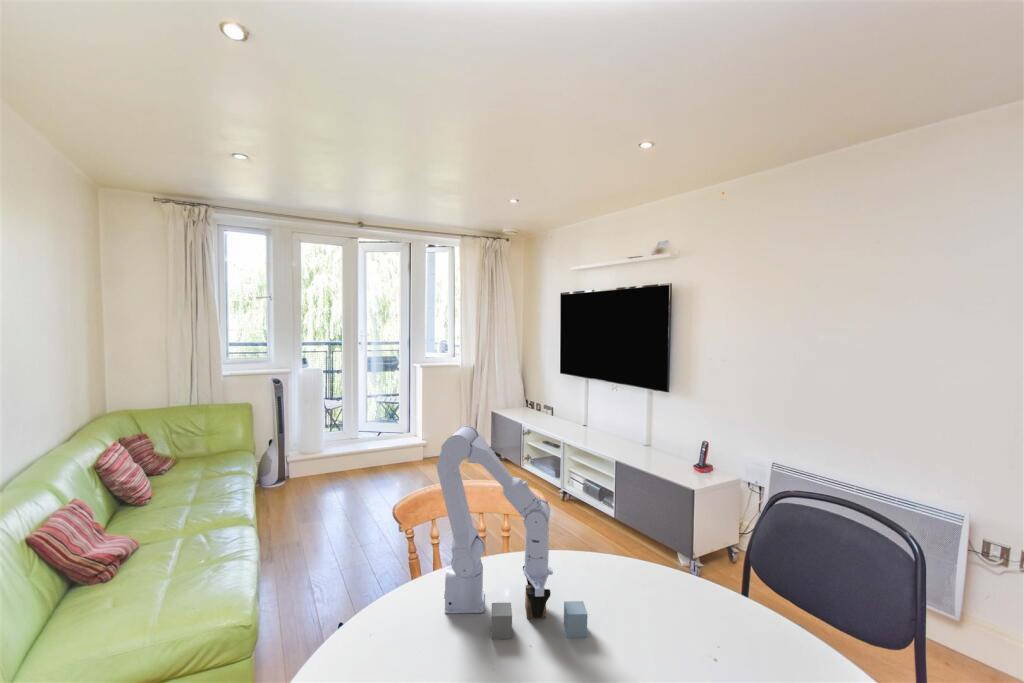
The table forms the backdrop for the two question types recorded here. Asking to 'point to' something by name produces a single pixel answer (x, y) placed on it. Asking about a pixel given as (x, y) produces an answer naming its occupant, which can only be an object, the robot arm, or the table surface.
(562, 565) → the table surface
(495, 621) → the grey block
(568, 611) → the slate block
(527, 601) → the walnut block
